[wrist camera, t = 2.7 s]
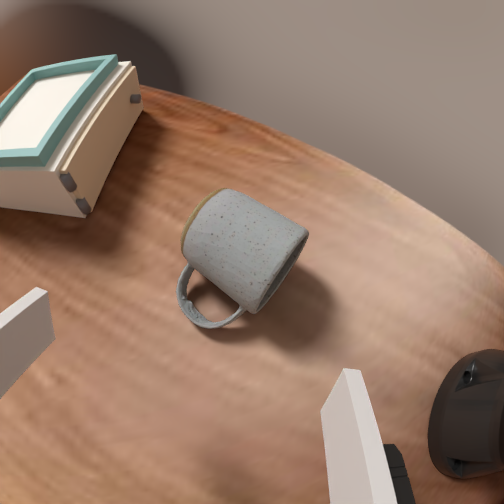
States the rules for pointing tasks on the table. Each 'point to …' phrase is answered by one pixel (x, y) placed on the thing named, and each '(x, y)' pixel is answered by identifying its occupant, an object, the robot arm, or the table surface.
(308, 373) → the table surface
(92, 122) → the cabinet
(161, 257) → the table surface
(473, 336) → the table surface
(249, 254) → the ceramic mug
